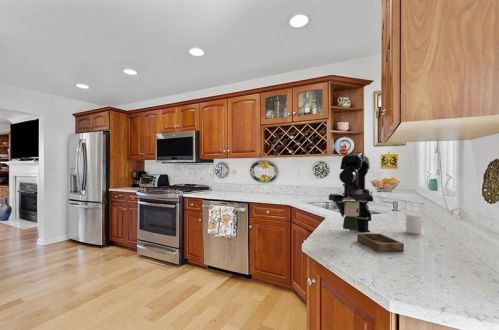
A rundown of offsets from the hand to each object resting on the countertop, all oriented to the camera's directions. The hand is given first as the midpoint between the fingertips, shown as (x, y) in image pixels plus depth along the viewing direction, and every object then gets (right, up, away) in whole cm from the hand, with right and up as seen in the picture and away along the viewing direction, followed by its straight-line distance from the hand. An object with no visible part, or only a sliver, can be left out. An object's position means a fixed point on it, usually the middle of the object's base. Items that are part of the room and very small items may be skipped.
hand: (350, 216), depth 111 cm
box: (+13, -13, 0) cm, 18 cm away
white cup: (+46, -14, +25) cm, 54 cm away
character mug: (0, -6, 0) cm, 6 cm away
